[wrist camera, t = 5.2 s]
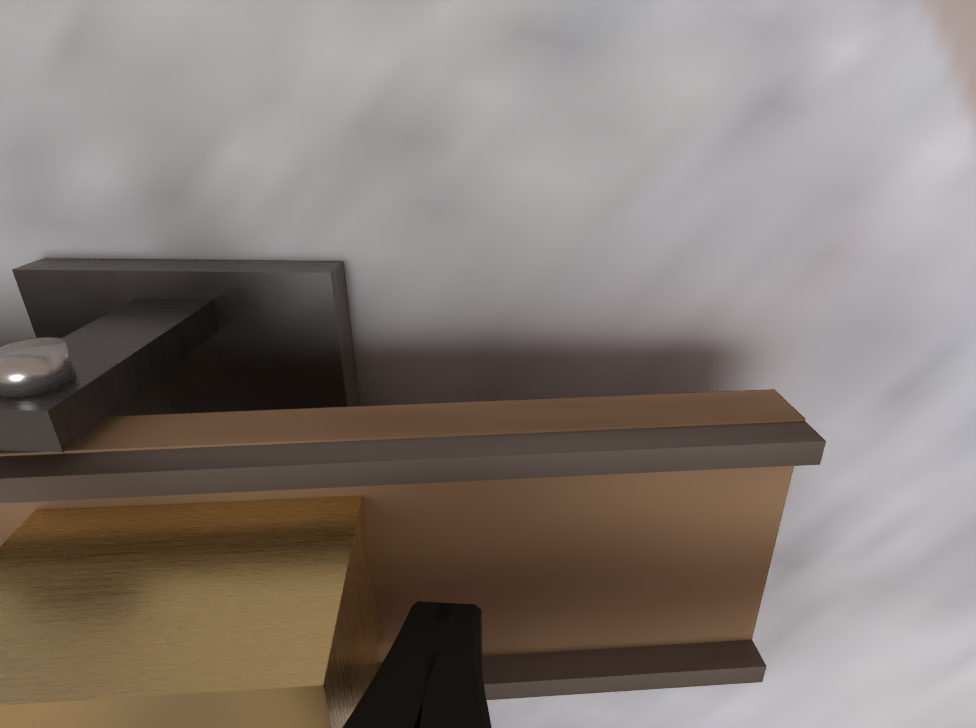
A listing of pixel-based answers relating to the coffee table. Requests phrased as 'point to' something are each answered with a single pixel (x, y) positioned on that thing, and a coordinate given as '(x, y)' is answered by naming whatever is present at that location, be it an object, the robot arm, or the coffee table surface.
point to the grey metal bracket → (172, 343)
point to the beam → (501, 516)
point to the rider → (188, 615)
